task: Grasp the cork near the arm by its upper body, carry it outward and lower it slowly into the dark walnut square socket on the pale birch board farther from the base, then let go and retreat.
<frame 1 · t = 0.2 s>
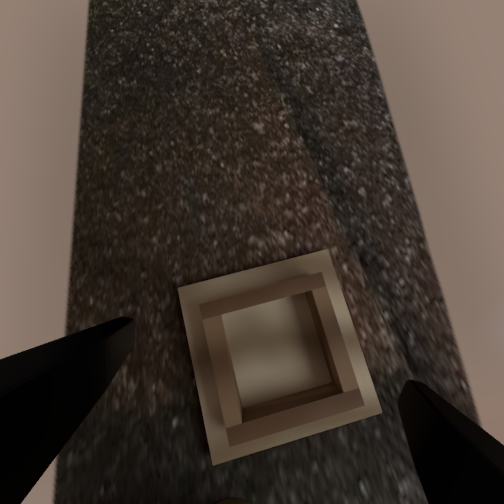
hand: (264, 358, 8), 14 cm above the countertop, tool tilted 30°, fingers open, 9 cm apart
socket board: (274, 345, 22), on the countertop
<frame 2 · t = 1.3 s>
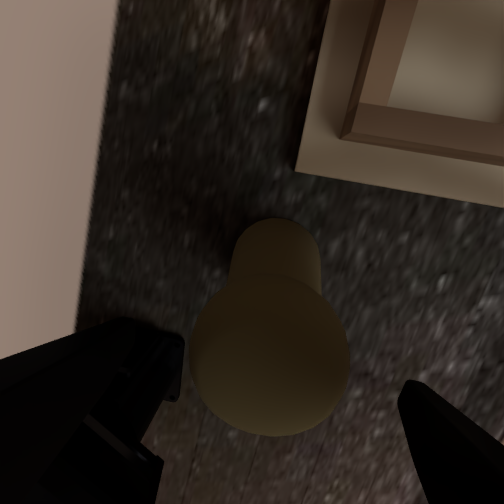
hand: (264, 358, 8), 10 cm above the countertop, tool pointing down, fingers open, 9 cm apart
socket board: (459, 53, 13), on the countertop
cork: (275, 260, 17), on the countertop
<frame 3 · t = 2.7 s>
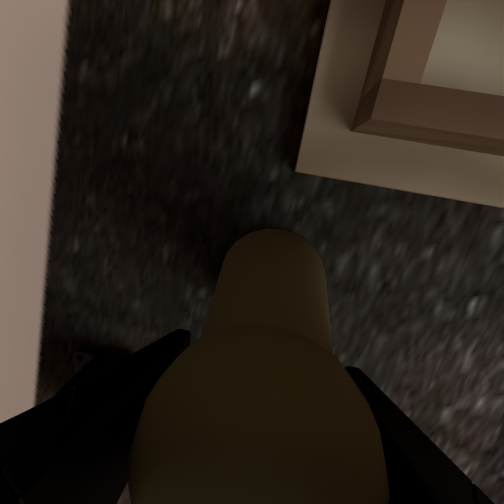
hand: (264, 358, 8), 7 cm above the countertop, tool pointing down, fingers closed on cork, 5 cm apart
cork: (271, 278, 14), on the countertop, touching gripper
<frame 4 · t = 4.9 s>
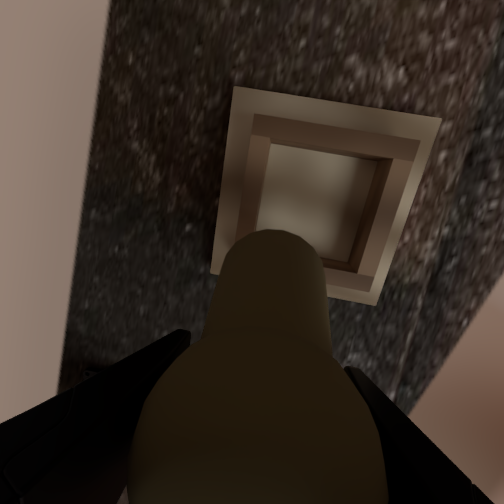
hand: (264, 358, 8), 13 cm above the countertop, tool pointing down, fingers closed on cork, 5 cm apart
socket board: (309, 204, 20), on the countertop
cork: (271, 278, 14), point 7 cm above the countertop, touching gripper
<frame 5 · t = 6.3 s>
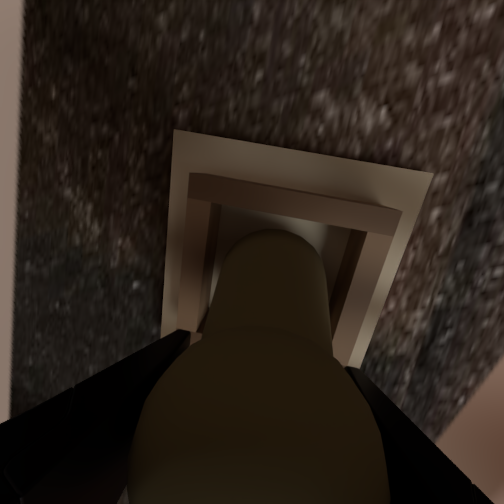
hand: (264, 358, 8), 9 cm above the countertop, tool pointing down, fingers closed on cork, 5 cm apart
socket board: (274, 264, 16), on the countertop
cork: (272, 278, 14), point 2 cm above the countertop, touching gripper
when the fingers open (8 cm above the countertop, at t = 7.2 s): cork stays where it is, resting on socket board.
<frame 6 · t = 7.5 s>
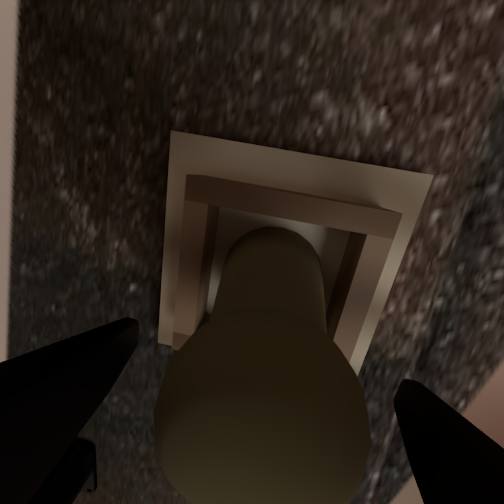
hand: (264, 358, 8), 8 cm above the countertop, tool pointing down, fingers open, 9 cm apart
socket board: (273, 267, 16), on the countertop
cork: (271, 273, 15), point 1 cm above the countertop, touching socket board
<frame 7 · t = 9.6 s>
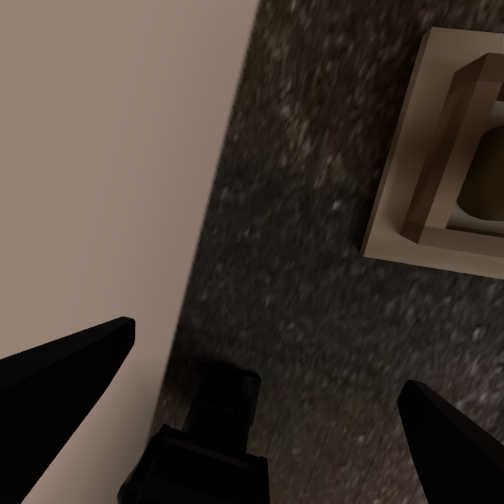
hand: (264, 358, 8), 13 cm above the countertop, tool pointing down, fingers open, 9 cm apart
socket board: (492, 172, 17), on the countertop
cork: (501, 174, 16), point 1 cm above the countertop, touching socket board
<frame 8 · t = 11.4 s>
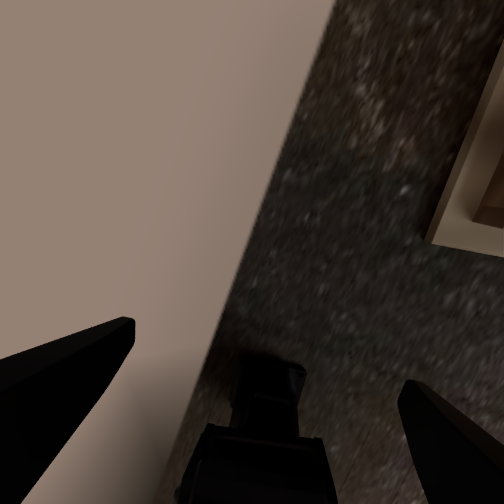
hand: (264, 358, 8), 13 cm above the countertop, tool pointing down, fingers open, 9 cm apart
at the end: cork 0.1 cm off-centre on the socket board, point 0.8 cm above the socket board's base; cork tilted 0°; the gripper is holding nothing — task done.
